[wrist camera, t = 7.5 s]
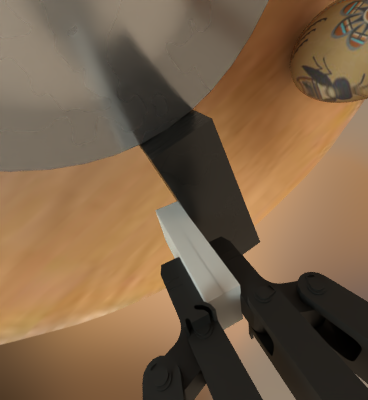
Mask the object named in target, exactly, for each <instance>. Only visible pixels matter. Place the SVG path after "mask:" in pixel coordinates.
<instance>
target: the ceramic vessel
mask: <svg viewBox="0 0 368 400" xmlns="http://www.w3.org/2000/svg"><path fill="white" fill-rule="evenodd" d="M290 71H291V76H292V79H293V81H294V83H295V85H296V86H297V87H298V89H299V90H300V91H301V92H303V93H304V94H305V95H307V96H309V97H311V98H313V99H316V100H319V101H323V102H331V103H344V102H353V101H358V100H363V99H367V98H368V0H336V1H335V2H333V3H332V4H330V5H329V6H328V7H326V8H325V9H324V10H323V11H321V12H320V13H319V14H318V15H317V16H316V17H315V18H314V19H313V20H312V21H311V22H310V23H309V24H308V26H307V27H306V28H305V29H304V31H303V32H302V34H301V35H300V37H299V39H298V40H297V42H296V44H295V46H294V49H293V52H292V56H291V61H290Z"/></svg>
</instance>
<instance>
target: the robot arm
mask: <svg viewBox="0 0 368 400" xmlns="http://www.w3.org/2000/svg"><path fill="white" fill-rule="evenodd" d="M156 213H157V216H158V219H159V222H160V225H161V228H162V231H163V234H164V237H165V240H166V242H167V244H168V246H169V248H170V250H171V252H172V254H173V255H174V257H175V259H173V260H171V261H169V262H167V263H165V264H163V265H161V276H162V279H163V281H164V284H165V286H166V288H167V291H168V293H169V296H170V298H171V300H172V303H173V305H174V307H175V310H176V312H177V315H178V317H179V319H180V323H181V333H180V336H179V338H178V341H177V342H176V343H175V345H174V346H173V347H172V348H171V349H170V350H169V352H168V353H167V354H166V355H165V356H159V357H157V358H155V359H153V360H152V361H151V362H150V363H149V364H148V366H147V368H146V370H145V372H144V375H143V383H142V384H143V400H194V399H195V398H196V396H197V395H198V394H199V392H200V391H201V390H202V388H203V387H204V386H205V384H207V386H208V388H209V391H210V393H211V395H212V398H213V400H263V399H262V398H261V396H260V394H259V392H258V391H257V389H256V387H255V385H254V383H253V382H252V380H251V378H250V376H249V375H248V373H247V371H246V369H245V368H244V366H243V364H242V363H241V360H240V359H239V357H238V355H237V353H236V351H235V350H234V348H233V346H232V344H231V343H230V341H229V339H228V338H227V336H226V334H225V332H224V329H226V328H228V327H229V326H231V325H233V324H234V323H236V322H238V321H240V320H242V319H243V315H244V317H245V318H246V319H247V321H248V323H249V334H250V337H251V339H252V338H253V335H254V337H255V338H256V340H257V341H258V343H259V344H260V346H261V347H262V349H263V350H264V352H265V353H266V355H267V356H268V358H269V359H270V361H271V362H272V364H273V365H274V367H275V368H276V370H277V371H278V373H279V374H280V376H281V378H282V379H283V381H284V382H285V384H286V385H287V387H288V388H289V390H290V391H291V393H292V394H293V396H294V397H295V399H296V400H368V388H367V387H366V386H365V385H364V384H363V382H362V381H361V380H360V379H359V378H358V377H357V376H356V375H355V374H357V375H358V376H359V377H360V378H361V379H362V380H364V381H365V382H366V383H367V384H368V302H367V301H366V300H364V299H362V298H361V297H359V296H357V295H356V294H354V293H352V292H351V291H349V290H347V289H346V288H344V287H342V286H341V285H339V284H337V283H336V282H334V281H332V280H331V279H329V278H327V277H326V276H324V275H321V274H319V273H315V272H307V273H304V274H302V275H301V276H300V277H299V279H298V281H295V282H289V283H282V284H276V283H271V282H269V281H267V280H265V279H263V278H262V277H261V276H260V275H259V274H258V273H257V272H256V270H255V269H254V268H253V267H252V266H251V265H250V263H249V262H248V261H247V260H246V259H245V258H244V257H243V255H241V253H240V252H239V251H238V250H237V249H236V247H235V246H234V245H233V244H232V243H231V242H230V241H229V240H227V239H225V238H223V237H222V236H221V237H219V238H216V239H214V240H212V241H210V242H208V241H207V240H206V239H205V237H204V236H203V235H202V233H201V232H200V231H199V229H198V228H197V227H196V225H195V224H194V223H193V221H192V220H191V219H190V217H189V216H188V215H187V213H186V212H185V211H184V209H183V208H182V207H181V205H180V204H179V203H178V201H177V202H175V203H172V204H170V205H167V206H165V207H163V208H160V209H158V210H156ZM242 314H243V315H242Z"/></svg>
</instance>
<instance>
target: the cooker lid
mask: <svg viewBox="0 0 368 400" xmlns="http://www.w3.org/2000/svg"><path fill="white" fill-rule="evenodd" d="M268 1H269V0H0V171H8V172H12V171H31V170H50V169H56V168H62V167H68V166H74V165H80V164H85V163H89V162H92V161H96V160H99V159H103V158H106V157H110V156H113V155H116V154H119V153H121V152H123V151H126V150H128V149H130V148H133V147H135V146H137V145H139V146H140V147H141V149H142V150H143V151H144V153H145V154H146V156H147V157H148V159H149V160H150V162H151V163H152V165H153V166H154V168H155V169H156V171H157V172H158V174H159V175H160V177H161V178H162V180H163V181H164V183H165V184H166V186H167V187H168V188H169V190H170V191H171V193H172V194H173V196H174V197H175V199H176V200H177V201H178V203H179V204H180V205H181V207H182V208H183V209H184V211H185V212H186V213H187V215H188V216H189V217H190V219H191V220H192V221H193V223H194V224H195V225H196V227H197V228H198V229H199V231H200V232H201V233H202V235H203V236H204V237H205V239H206V240H207V241H208V242H210V241H212V240H214V239H216V238H219V237H221V236H222V237H223V238H225V239H227V240H229V241H230V242H231V243H232V244H233V245H234V246H235V247H236V249H237V250H238V251H239V252H240V253H241V255H243V254H244V253H246V252H247V251H248V250H250V249H251V248H253V247H254V246H255V245H257V244H258V243H259V242H260V240H259V238H258V236H257V233H256V231H255V227H254V225H253V222H252V220H251V217H250V215H249V212H248V210H247V207H246V204H245V202H244V199H243V197H242V194H241V192H240V189H239V187H238V184H237V181H236V179H235V176H234V174H233V171H232V169H231V166H230V164H229V161H228V158H227V156H226V153H225V151H224V148H223V146H222V143H221V141H220V138H219V135H218V133H217V130H216V128H215V125H214V123H213V120H212V118H209V117H207V116H205V115H203V114H201V113H199V112H197V111H194V110H192V109H193V108H194V107H195V106H196V105H197V104H198V103H199V102H200V101H201V100H202V99H203V98H204V97H205V96H206V95H207V94H208V93H209V92H210V91H211V90H212V89H213V88H214V87H215V85H216V84H217V83H218V82H219V80H220V79H221V78H222V77H223V75H224V74H225V73H226V72H227V70H228V69H229V68H230V67H231V65H232V64H233V63H234V61H235V59H236V58H237V56H238V55H239V53H240V52H241V50H242V48H243V47H244V45H245V44H246V42H247V41H248V39H249V38H250V36H251V34H252V32H253V30H254V28H255V26H256V24H257V22H258V20H259V18H260V17H261V15H262V13H263V11H264V9H265V7H266V5H267V3H268Z"/></svg>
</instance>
